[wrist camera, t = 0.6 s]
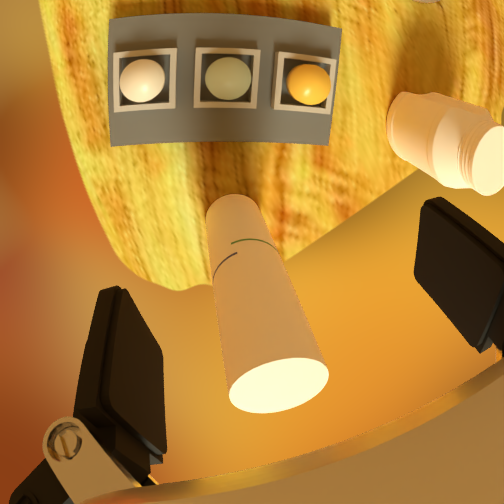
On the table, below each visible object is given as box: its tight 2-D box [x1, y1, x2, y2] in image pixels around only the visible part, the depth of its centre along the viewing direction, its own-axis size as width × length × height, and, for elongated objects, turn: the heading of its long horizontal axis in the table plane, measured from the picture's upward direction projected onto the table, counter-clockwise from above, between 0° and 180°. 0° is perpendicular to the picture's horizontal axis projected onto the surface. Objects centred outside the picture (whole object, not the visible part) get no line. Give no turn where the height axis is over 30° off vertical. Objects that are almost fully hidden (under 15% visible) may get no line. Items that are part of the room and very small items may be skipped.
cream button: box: [120, 59, 165, 102], centre depth 26 cm, size 4×4×2 cm
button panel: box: [108, 13, 342, 147], centre depth 30 cm, size 14×24×4 cm, turn 86°
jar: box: [386, 92, 504, 196], centre depth 32 cm, size 12×10×15 cm
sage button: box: [205, 57, 251, 100], centre depth 27 cm, size 4×4×2 cm
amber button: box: [286, 64, 331, 105], centre depth 29 cm, size 4×4×2 cm
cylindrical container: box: [206, 194, 329, 413], centre depth 31 cm, size 7×7×25 cm
